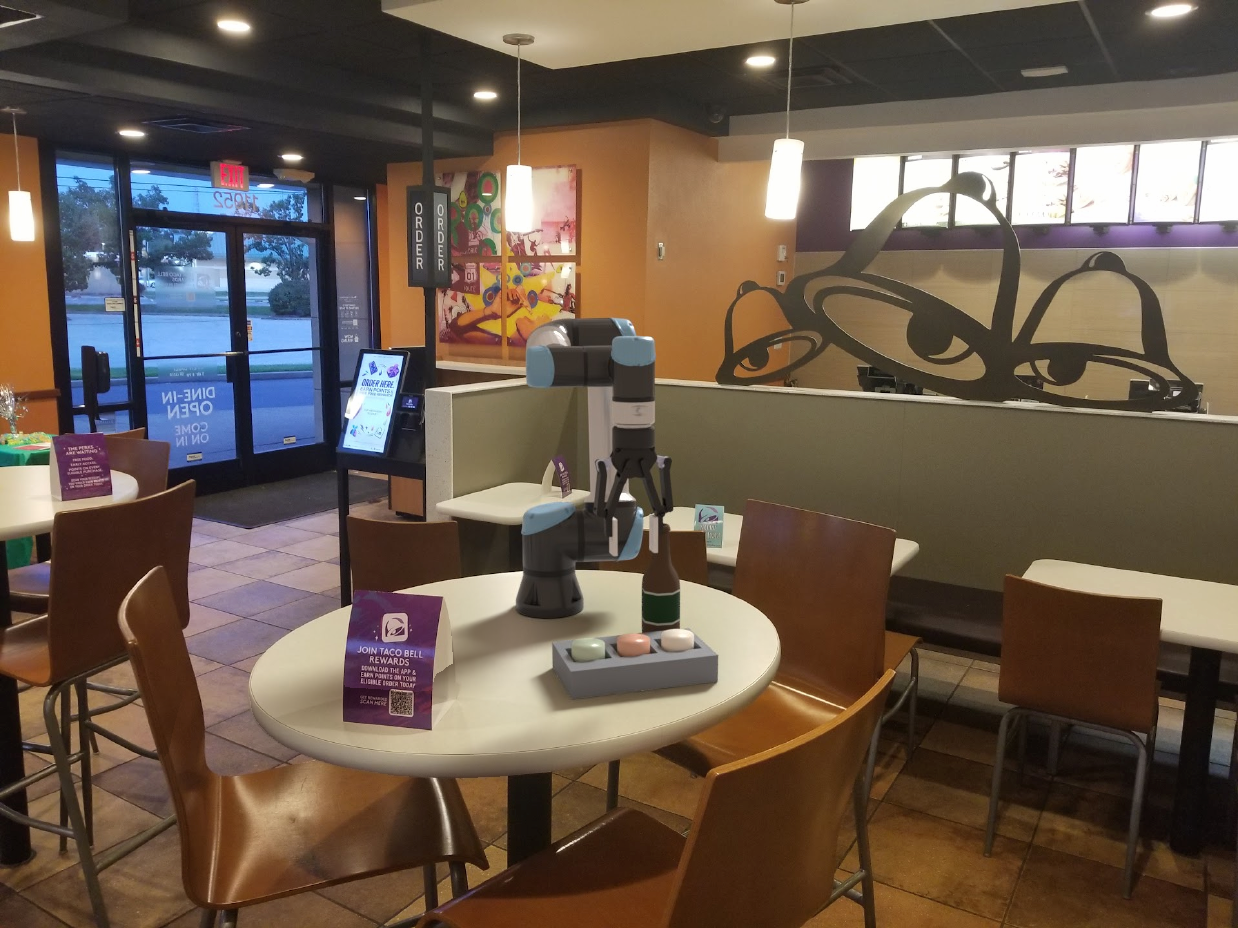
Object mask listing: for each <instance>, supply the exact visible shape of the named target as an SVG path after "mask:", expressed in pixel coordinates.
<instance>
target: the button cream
mask: <svg viewBox="0 0 1238 928" xmlns="http://www.w3.org/2000/svg"><path fill="white" fill-rule="evenodd" d="M684 629H685V628H680V629H670V630H666V631H664V632H662V633H661V648H662V649H663V650H664V651H665V652H673V651H682V650H691V649H694V634H693V633H692V632H691V631H692V630H691V631H688V630H684Z"/></svg>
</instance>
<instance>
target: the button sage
mask: <svg viewBox="0 0 1238 928" xmlns="http://www.w3.org/2000/svg"><path fill="white" fill-rule="evenodd" d="M596 638H597V637H584V638H583V637H582V638H577V639H574V640H575V641H573V642H572V644H571V646H572V660H573V662H582V661H591V660H600V659H605V642H604V641H602V640H600V639H596Z"/></svg>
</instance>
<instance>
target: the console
mask: <svg viewBox="0 0 1238 928" xmlns="http://www.w3.org/2000/svg"><path fill="white" fill-rule="evenodd" d="M683 629H684V630H688V631H691V632H692V633H693V634H694V649H691V650H682V651H673V652H665V651H664V650H663V649H662V648H661V633H662V632H664V631H656V632H646V633H642V632H639V633H636V634H643V635H646V636H648V637H649V638H650V654H646V655H636V656H627V657H620V656H619V655H618V654H617V638H618V637H619V636H621V635H622V634H619V635H607V636H599V637H595V638H596V639H600V640H602V641H604V642H605V659H600V660H591V661H582V662H573V660H572V646H571V644H572V642H573V641H575V640H576V639H570V640H560V641H553V642H551V647H552V649H551V653H552V654H551V655H552V656H551V658H552V662H551V664H552V669H553V671H554V673H555V674H556V676H557V678H558V680H559V679H560V680H559V681H560V683H561V685H562V686H563V688H564V690H565V691H566V694H567V695H568V696H569V698H570V699H571V700H575V699H576V700H577V699H578V700H579V699H585V698H587V699H588V698H592V697H594V696H595V697H600V696H601V697H602V696H603V697H604V696H612V695H618V694H619V693H620V694H626V692H628V693H635V692H642V690H645V691H650V690H659V689H660V690H661V689H667V688H676V687H684V686H685V687H686V686H693V685H702V684H710V683H717V682H719V654H718V653H717V652H716V651H714V650H713V649H712V648H711V647H710V646H709V645H708V644H707V643H706V642H705V641H704V640H702V639H701V637H699V636H698V635H697V634H696V633H695V632H694V631H693V630H691V629H690V628H689V627H687V628H683ZM665 631H666V630H665ZM620 694H619V695H620Z"/></svg>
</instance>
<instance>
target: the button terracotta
mask: <svg viewBox="0 0 1238 928" xmlns="http://www.w3.org/2000/svg"><path fill="white" fill-rule="evenodd" d="M620 635H621V636H619V637H618V638H617V654H618V655H619V656H620V657H627V656H636V655H646V654H650V638H649V637H648V636H646V635H643V634H636V633H633V632H632V633H631V632H630V633H624V634H620Z"/></svg>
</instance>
